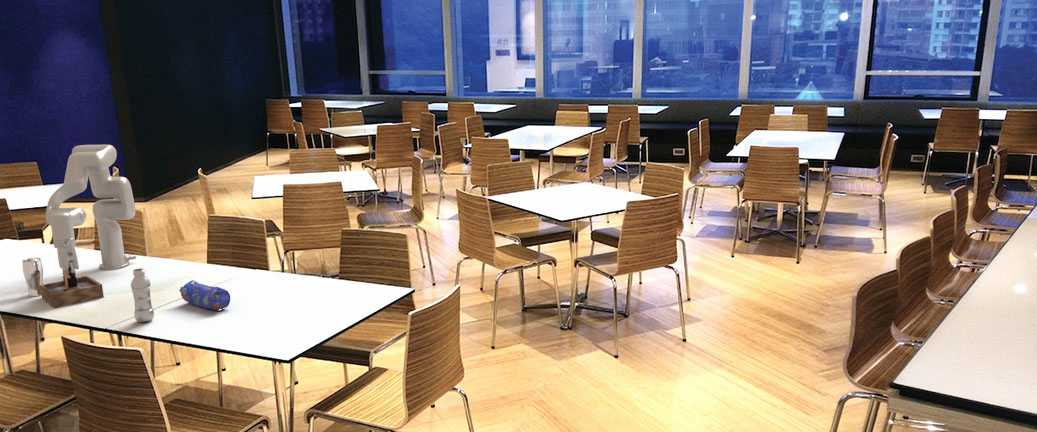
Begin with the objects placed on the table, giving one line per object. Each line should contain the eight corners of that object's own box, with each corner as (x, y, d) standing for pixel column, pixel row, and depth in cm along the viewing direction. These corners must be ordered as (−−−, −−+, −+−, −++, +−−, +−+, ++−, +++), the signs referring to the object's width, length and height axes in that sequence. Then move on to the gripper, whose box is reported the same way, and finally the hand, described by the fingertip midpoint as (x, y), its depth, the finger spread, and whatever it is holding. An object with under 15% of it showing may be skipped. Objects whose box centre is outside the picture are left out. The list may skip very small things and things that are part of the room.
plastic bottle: (139, 318, 295) (132, 267, 290) (157, 317, 295) (151, 267, 291) (132, 324, 288) (125, 272, 284) (151, 323, 289) (144, 272, 284)
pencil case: (180, 304, 310) (177, 281, 308) (199, 298, 317) (197, 276, 315) (213, 314, 298) (211, 291, 296) (233, 308, 305) (230, 285, 303)
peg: (76, 292, 323) (72, 265, 320) (79, 295, 320) (75, 267, 317) (65, 295, 320) (61, 267, 317) (68, 297, 317) (65, 269, 314)
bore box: (89, 287, 333) (87, 275, 331) (103, 297, 320) (102, 284, 319) (41, 298, 320) (39, 285, 319) (54, 308, 308) (52, 294, 306)
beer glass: (50, 293, 327) (45, 258, 323) (34, 298, 320) (28, 262, 317) (39, 291, 329) (34, 256, 326) (23, 295, 323) (17, 261, 320)
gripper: (81, 244, 312) (87, 287, 316) (68, 237, 323) (74, 279, 327) (60, 248, 306) (67, 292, 311) (47, 240, 318) (54, 283, 322)
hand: (70, 285), depth 319 cm, fingers open, 4 cm apart
